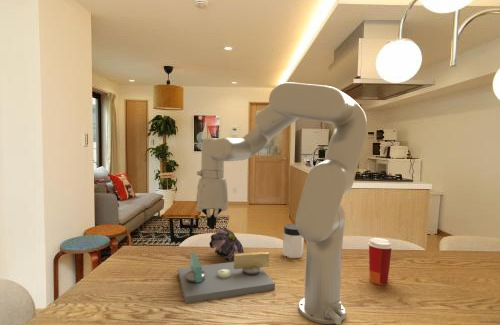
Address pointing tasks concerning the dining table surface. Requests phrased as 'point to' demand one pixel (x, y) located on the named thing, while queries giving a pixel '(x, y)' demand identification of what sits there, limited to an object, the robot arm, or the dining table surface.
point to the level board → (223, 283)
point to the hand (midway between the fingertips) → (211, 227)
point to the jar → (292, 242)
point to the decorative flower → (226, 243)
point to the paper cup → (379, 260)
